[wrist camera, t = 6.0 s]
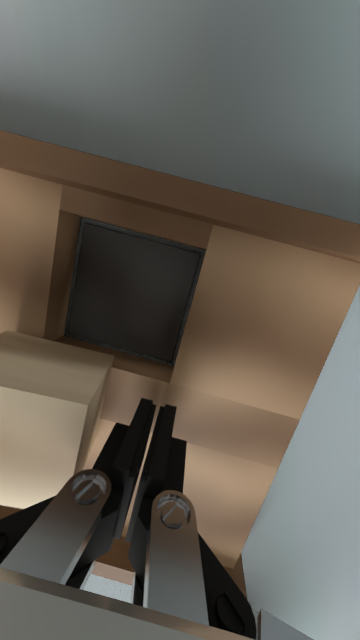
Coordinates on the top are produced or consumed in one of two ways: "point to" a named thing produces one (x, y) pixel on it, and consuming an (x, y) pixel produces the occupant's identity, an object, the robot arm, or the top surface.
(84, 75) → the top surface
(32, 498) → the beech block
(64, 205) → the box
